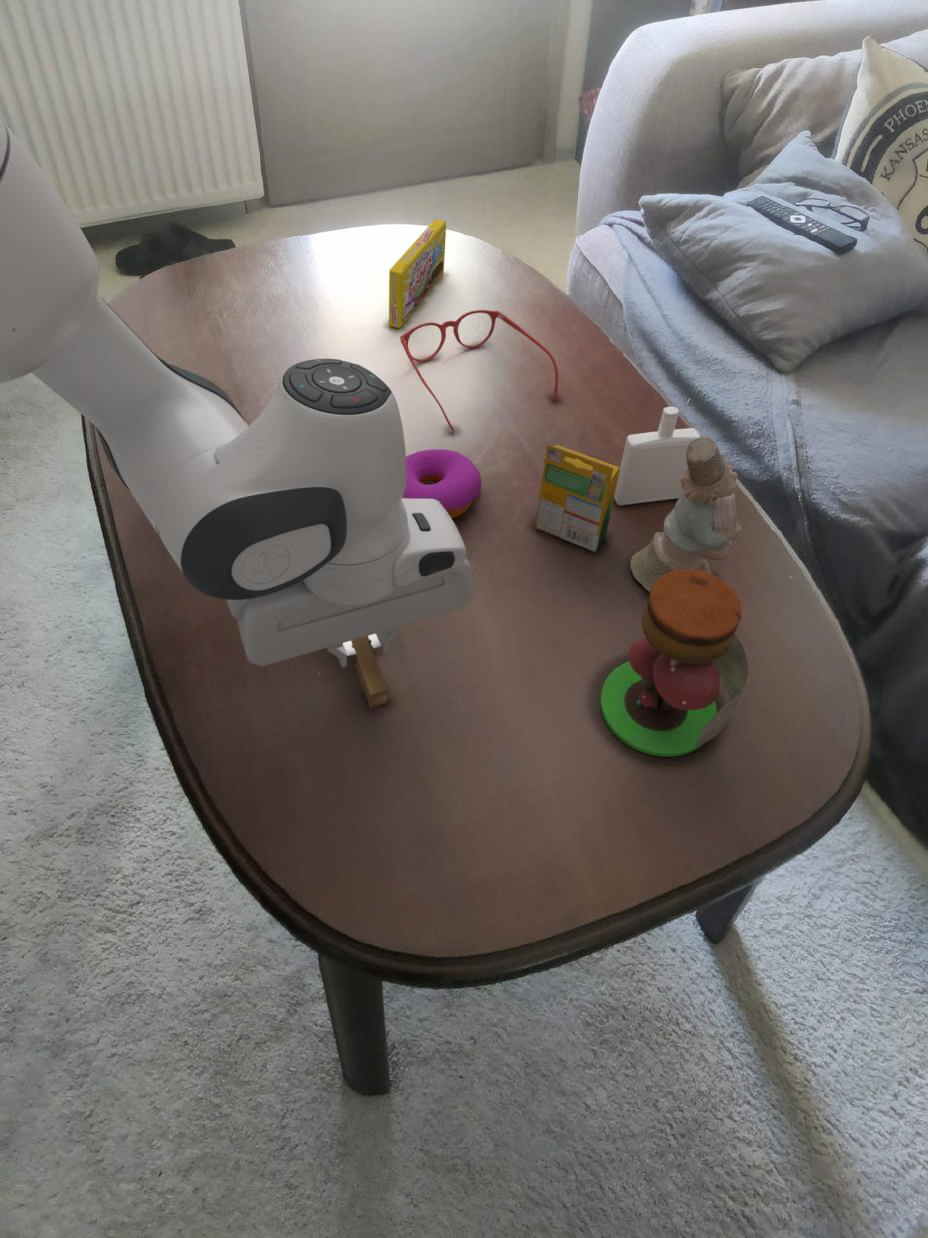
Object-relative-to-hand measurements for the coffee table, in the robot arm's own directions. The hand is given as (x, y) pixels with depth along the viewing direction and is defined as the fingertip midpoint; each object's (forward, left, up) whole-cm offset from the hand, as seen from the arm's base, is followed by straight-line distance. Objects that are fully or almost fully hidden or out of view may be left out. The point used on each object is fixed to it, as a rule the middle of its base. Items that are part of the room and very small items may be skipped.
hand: (363, 655), depth 79 cm
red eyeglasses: (+28, +39, -3) cm, 48 cm away
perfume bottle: (+38, +12, -3) cm, 40 cm away
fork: (0, +5, -1) cm, 5 cm away
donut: (+15, +20, -3) cm, 25 cm away
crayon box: (+27, +10, -3) cm, 29 cm away
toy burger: (+24, -14, -3) cm, 28 cm away
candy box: (+28, +60, -3) cm, 66 cm away
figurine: (+34, 0, -3) cm, 34 cm away
